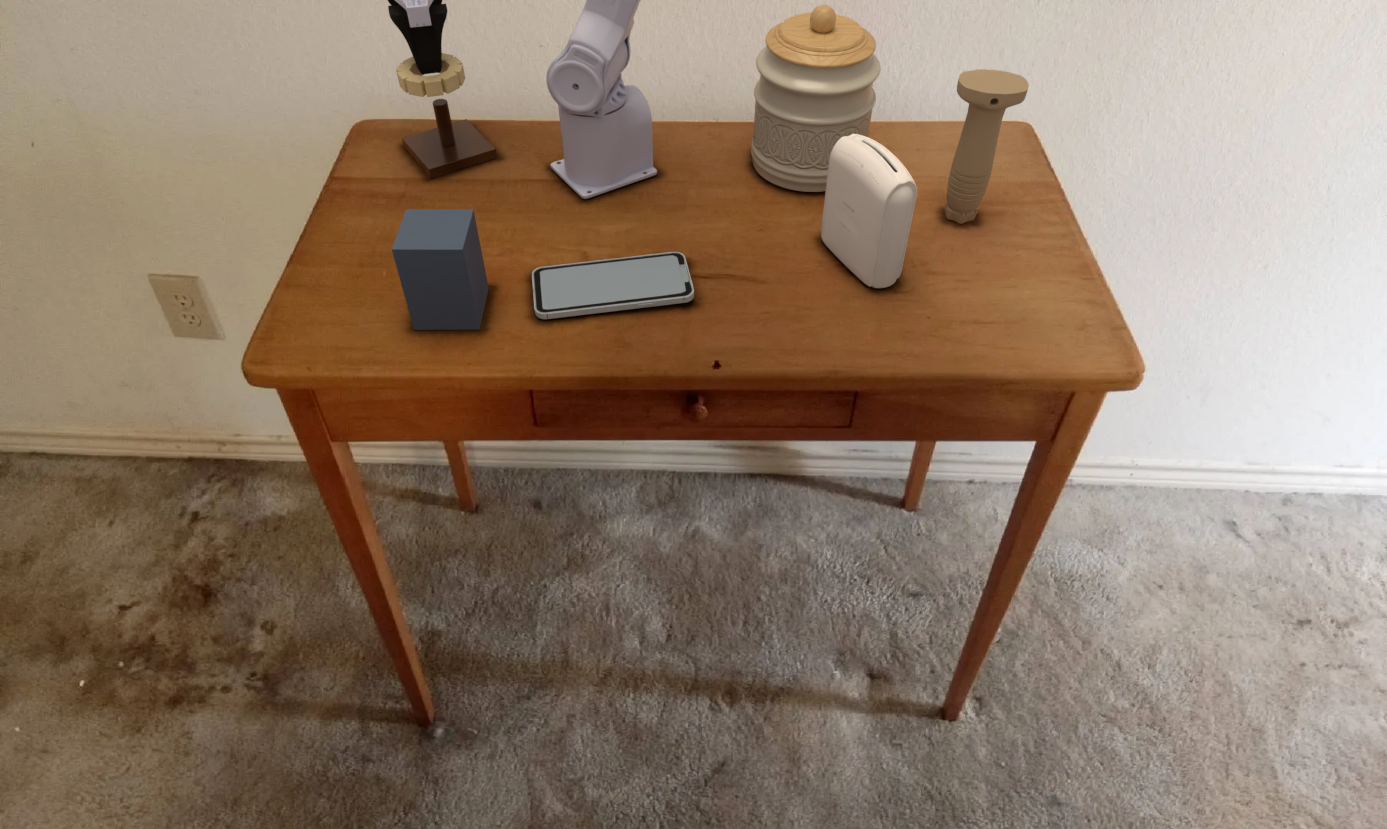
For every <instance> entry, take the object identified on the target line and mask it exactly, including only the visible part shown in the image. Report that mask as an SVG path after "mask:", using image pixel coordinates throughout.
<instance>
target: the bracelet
mask: <svg viewBox="0 0 1387 829" xmlns="http://www.w3.org/2000/svg"><path fill="white" fill-rule="evenodd" d="M396 76H397V81H398V86H399V88H401V89H402V91H403V92H405V94H407V93H408V95H411V96H415V97H419V98H425V96H426V97H427V98H430V97H431V98H432V97H439V96H444V95H445V94H447V95H448V94H451V93H453V92H454V91H455V92H456V90H459V89H460V88H461V87H462V86H463V85H464V83H465V80H466V74H465V69H464V63H463V62H462V60H460V59H459V58H458V57H457V56H454V55H453V54H450V53H449V54H448V53H443V52H442V67H441V72H439V73H437V74H434V75H426V76H425V74H421V72H420V71H419V69H418V67H417V65H416V62H415V60H414V57H413V56H410V57H408V58H406V59H404V60H402V62H399V64H398V65H397V68H396Z"/></svg>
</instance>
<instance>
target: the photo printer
mask: <svg viewBox="0 0 1387 829" xmlns="http://www.w3.org/2000/svg"><path fill="white" fill-rule="evenodd" d="M917 197H918V188H917V184H916V181H915V180H914V178H913V176H912V175H911V173H910V172H909V170H908V169H907V167H906V166H905V165H904V164H903V162H902V161H901V160H900V159H899V158H898V157H897V156H896V155H895V154H894V153H892V151H890V150H889V149H888V148H887V147H886V146H884V145H883V144H882V143H880V142H879V141H877V140H874V139H873V138H871V137H869V136H868V137H866V136H863V135H859V134H851V135H849V136H843V137H841V138H840V139H839V140H838V141H837V143H836V144H835V145H834V147H833V149H832V152H831V154H830V159H829V168H828V175H827V184H826V191H824V202H823V210H822V218H821V227H820V228H821V229H820V238H821V240H822V243H823V244H824V245H825V246H826V247H827V248H828V249H829V251H830V252H831V253H832V254H833V255H834V256H835V257H836V258H837V259H838V260H839V261H840V262H841V263H842V264H843V266H845V267H846V269H848V270H849V271H850V272H851V273H853V275H854V276H855V277H857V278H858V279H859V280H860V281H861V282H862V283H863V284H864V285H866V286H868V287H869V288H871V287H872V288H873V289H884V288H885V289H886V288H889V287H891V286H892V285H894V284H895V283H896V282H897V280H898V279H899V278H901V275H902V272H903V267H904V262H905V256H906V251H907V246H908V241H909V236H910V231H911V228H912V227H911V226H912V223H913V222H912V221H913V218H914V212H915V207H916V202H917Z"/></svg>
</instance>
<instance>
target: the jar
mask: <svg viewBox="0 0 1387 829" xmlns="http://www.w3.org/2000/svg"><path fill="white" fill-rule="evenodd" d="M764 42H765V46H764V47H763V48H762V49H761V50H760V51H759V52H758V53H757V55H756V58H755V66H756V69H757V71H758V73H759V79H758V81H757V82H756V84H755V86H754V91H753V96H754V100H755V101H754V118H753V132H752V134H753V135H752V137H751V140H750V154H751V157H752V165H753V167H754V169H755V171H756V172H757V173H758V174H759V176H761V178H763V179H765V180H766V181H768V182H769V183H771V184H773V185H775V186H778V187H780V188H783V189H787V190H791V191H797V192H803V193H804V192H805V193H821V192H822V193H823V192H826V184H827V175H828V168H829V159H830V154H831V152H832V149H833V147H834V145H835V144H836V143H837V141H838V140H839V139H840V138H841V137H843V136H849V135H851V134H859V135H863V136H866V137H868V138H869V133H870V129H871V128H870V126H871V121H872V115H873V109H874V107H875V105H876V102H877V94H876V92H875V89H874V83H875V81H876V80H877V79H878V78H879V76H880V73H881V69H882V68H881V62H880V60H879V59H878V57H877V55H875V51H876V48H877V42H876V39H875V37H874V36H873V35H872V33H871V32H869V30H867V29H865V28H864V27H863V26H862V25H861V24H860V23H858V22H857V21H856V20H854V19H852V18H850V17H848V16H844V15H841V14H838V13H837V14H836V12H835V10H834V8H833V7H832V6H830V5H828V4H819V5H817V6H816V7H815V8H814V9H813V10H812V11H811V12H803V13H798V14H795V15H792V16H790V17H787V18H786V19H784V21H782V22H780V23H778V24H776V25H774V26H773V27H771V28H770V29H769V30H768V31H767V33H766V35H765V40H764Z"/></svg>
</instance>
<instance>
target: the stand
mask: <svg viewBox="0 0 1387 829" xmlns="http://www.w3.org/2000/svg"><path fill="white" fill-rule="evenodd" d="M432 108H433V112H434V117H435V121H436V126H437V127H434V128H432V129H427V130H424V131H420V132H417V133H414V134H411V135H407V136H403V137H402V138H401V141H402V145H403V148H404V149H405V150H406V151H407V153H408V154H409V155H410V156H411V157H412V159H413V160H414V161H415V162H416V163H417V164H418V166H420V168H421V170H423V172H425V174H426V175H427V176H428V177H429V178H430V179H435V178H438V177H441V176H444V175H447V174H451V173H454V172H458V171H460V170H464V169H467V168H469V167H474V166H476V165H480V164H483V163H486V162H489V161H492V160H495V159H497V158H498V156H497V149H496V148H495V147H494V146H493V144H491V142H490V141H488V139H486V137H485V136H484V135H483V134H482V133H481V132H480V131H479V130H478V129H477V128H476V127H475V126H474V125H473V124H472V123H471V122H470V121H469V120H468V119H461V120H459V121H455V122H452V117H451V112H450V108H449V103H448V100H446V99H445V98H437V99H435V100H433V101H432Z"/></svg>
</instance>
